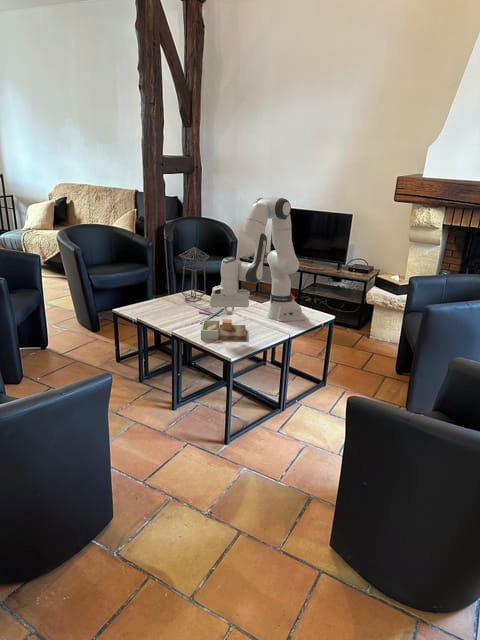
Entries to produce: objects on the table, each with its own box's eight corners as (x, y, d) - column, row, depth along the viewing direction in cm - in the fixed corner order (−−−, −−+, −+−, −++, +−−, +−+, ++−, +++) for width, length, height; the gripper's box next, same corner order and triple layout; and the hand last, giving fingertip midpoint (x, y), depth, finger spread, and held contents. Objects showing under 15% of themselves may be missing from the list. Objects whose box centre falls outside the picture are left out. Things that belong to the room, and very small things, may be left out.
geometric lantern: (193, 294, 304) (194, 244, 292) (210, 300, 295) (211, 248, 283) (176, 299, 293) (176, 247, 281) (193, 305, 283) (194, 251, 271)
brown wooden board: (245, 329, 244) (245, 325, 243) (245, 340, 229) (245, 335, 228) (220, 328, 244) (220, 324, 243) (218, 339, 229) (218, 335, 228)
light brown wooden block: (231, 326, 241) (231, 319, 240) (231, 329, 236) (231, 322, 235) (222, 326, 241) (222, 319, 239) (222, 329, 236) (222, 322, 235)
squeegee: (209, 305, 278) (223, 308, 275) (209, 308, 279) (223, 310, 275) (186, 320, 254) (201, 323, 250) (186, 322, 254) (201, 325, 251)
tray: (219, 328, 244) (219, 320, 242) (218, 339, 229) (218, 330, 227) (203, 328, 244) (203, 319, 242) (200, 339, 229) (200, 330, 227)
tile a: (219, 330, 235) (216, 323, 233) (219, 333, 230) (216, 327, 229) (210, 333, 235) (207, 327, 234) (210, 337, 231) (207, 330, 229)
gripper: (249, 287, 228) (249, 312, 233) (210, 287, 228) (210, 312, 233) (250, 291, 222) (249, 316, 227) (209, 290, 222) (209, 316, 227)
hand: (229, 314), depth 230 cm, fingers closed
